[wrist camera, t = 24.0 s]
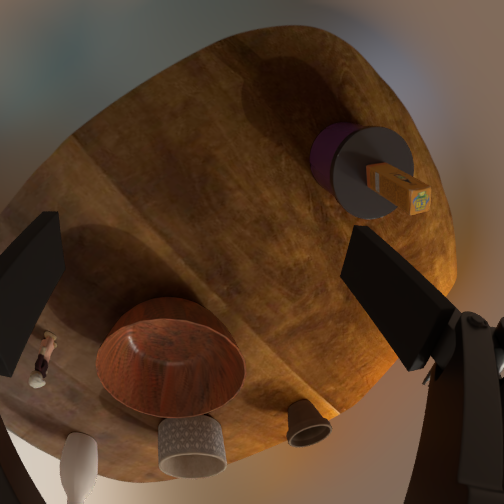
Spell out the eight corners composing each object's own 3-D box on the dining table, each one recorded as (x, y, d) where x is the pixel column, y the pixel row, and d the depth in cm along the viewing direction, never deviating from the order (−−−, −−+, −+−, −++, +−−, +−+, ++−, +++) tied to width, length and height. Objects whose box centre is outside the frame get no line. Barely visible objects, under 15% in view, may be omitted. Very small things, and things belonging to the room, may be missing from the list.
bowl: (254, 291, 58) (269, 333, 48) (216, 381, 67) (222, 423, 57) (114, 261, 50) (99, 301, 40) (103, 362, 60) (95, 405, 50)
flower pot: (320, 412, 81) (331, 440, 72) (280, 422, 80) (289, 452, 71) (320, 389, 75) (334, 419, 67) (277, 400, 74) (287, 433, 66)
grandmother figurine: (39, 325, 53) (19, 371, 42) (55, 328, 54) (37, 374, 43) (46, 353, 56) (30, 397, 45) (61, 355, 57) (47, 401, 46)
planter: (166, 404, 68) (167, 449, 57) (230, 414, 74) (237, 456, 63) (152, 435, 74) (152, 474, 63) (208, 443, 80) (213, 481, 69)
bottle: (83, 427, 70) (74, 507, 47) (107, 445, 75) (103, 520, 53) (57, 431, 70) (46, 505, 47) (81, 449, 75) (75, 519, 53)
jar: (294, 135, 46) (320, 146, 37) (366, 108, 46) (403, 115, 37) (320, 208, 52) (347, 233, 43) (385, 179, 52) (419, 198, 43)
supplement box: (366, 189, 41) (408, 217, 32) (365, 164, 39) (409, 187, 30) (386, 185, 41) (430, 211, 32) (386, 161, 39) (432, 183, 31)
